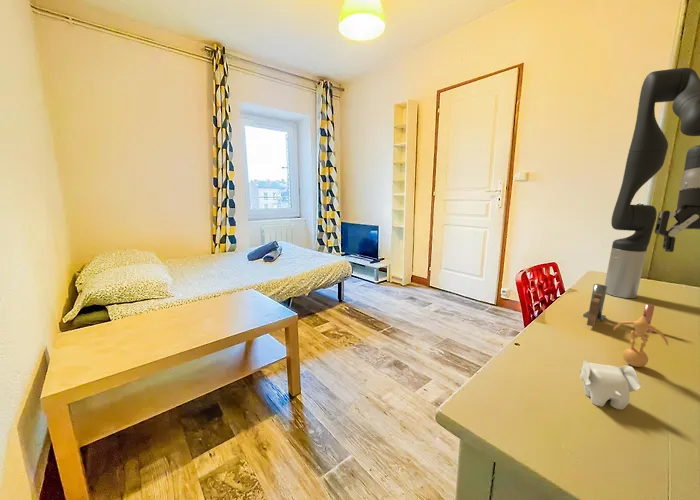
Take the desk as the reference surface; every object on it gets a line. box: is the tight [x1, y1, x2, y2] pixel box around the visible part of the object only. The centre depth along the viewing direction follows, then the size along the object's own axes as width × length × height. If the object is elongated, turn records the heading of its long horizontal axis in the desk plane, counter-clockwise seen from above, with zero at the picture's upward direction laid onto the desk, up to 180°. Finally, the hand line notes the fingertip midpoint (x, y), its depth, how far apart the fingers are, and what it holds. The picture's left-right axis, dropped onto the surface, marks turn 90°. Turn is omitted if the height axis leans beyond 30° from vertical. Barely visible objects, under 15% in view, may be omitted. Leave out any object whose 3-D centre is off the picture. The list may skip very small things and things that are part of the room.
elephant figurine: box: [578, 359, 642, 411], centre depth 53 cm, size 8×10×7 cm
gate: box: [586, 293, 602, 327], centre depth 83 cm, size 9×2×7 cm, turn 136°
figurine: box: [612, 315, 669, 368], centre depth 62 cm, size 8×6×12 cm
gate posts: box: [583, 283, 656, 334], centre depth 84 cm, size 6×15×10 cm, turn 36°
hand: (692, 253), depth 73 cm, fingers open, 8 cm apart
